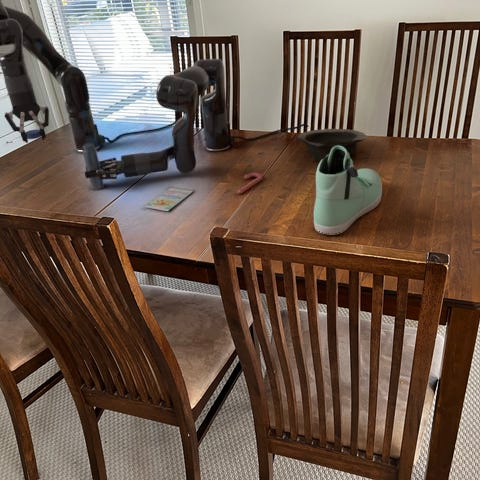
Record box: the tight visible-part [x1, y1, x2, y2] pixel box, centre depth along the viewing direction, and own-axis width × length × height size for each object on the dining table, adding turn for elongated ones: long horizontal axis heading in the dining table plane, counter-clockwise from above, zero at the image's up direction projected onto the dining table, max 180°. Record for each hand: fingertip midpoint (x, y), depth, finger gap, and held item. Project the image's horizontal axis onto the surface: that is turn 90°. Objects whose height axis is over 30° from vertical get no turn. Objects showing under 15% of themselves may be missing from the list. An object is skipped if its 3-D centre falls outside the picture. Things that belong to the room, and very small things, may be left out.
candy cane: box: [236, 172, 263, 195], centre depth 157 cm, size 6×15×2 cm, turn 145°
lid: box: [25, 128, 42, 140], centre depth 159 cm, size 5×5×2 cm
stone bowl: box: [296, 128, 369, 163], centre depth 173 cm, size 25×25×9 cm
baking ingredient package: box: [143, 187, 194, 212], centre depth 152 cm, size 9×1×15 cm
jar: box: [82, 143, 105, 191], centre depth 161 cm, size 4×4×15 cm
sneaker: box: [313, 146, 383, 236], centre depth 133 cm, size 14×35×20 cm, turn 152°
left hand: (35, 140), depth 160 cm, fingers closed on lid, 4 cm apart
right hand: (85, 172), depth 161 cm, fingers closed on jar, 4 cm apart
